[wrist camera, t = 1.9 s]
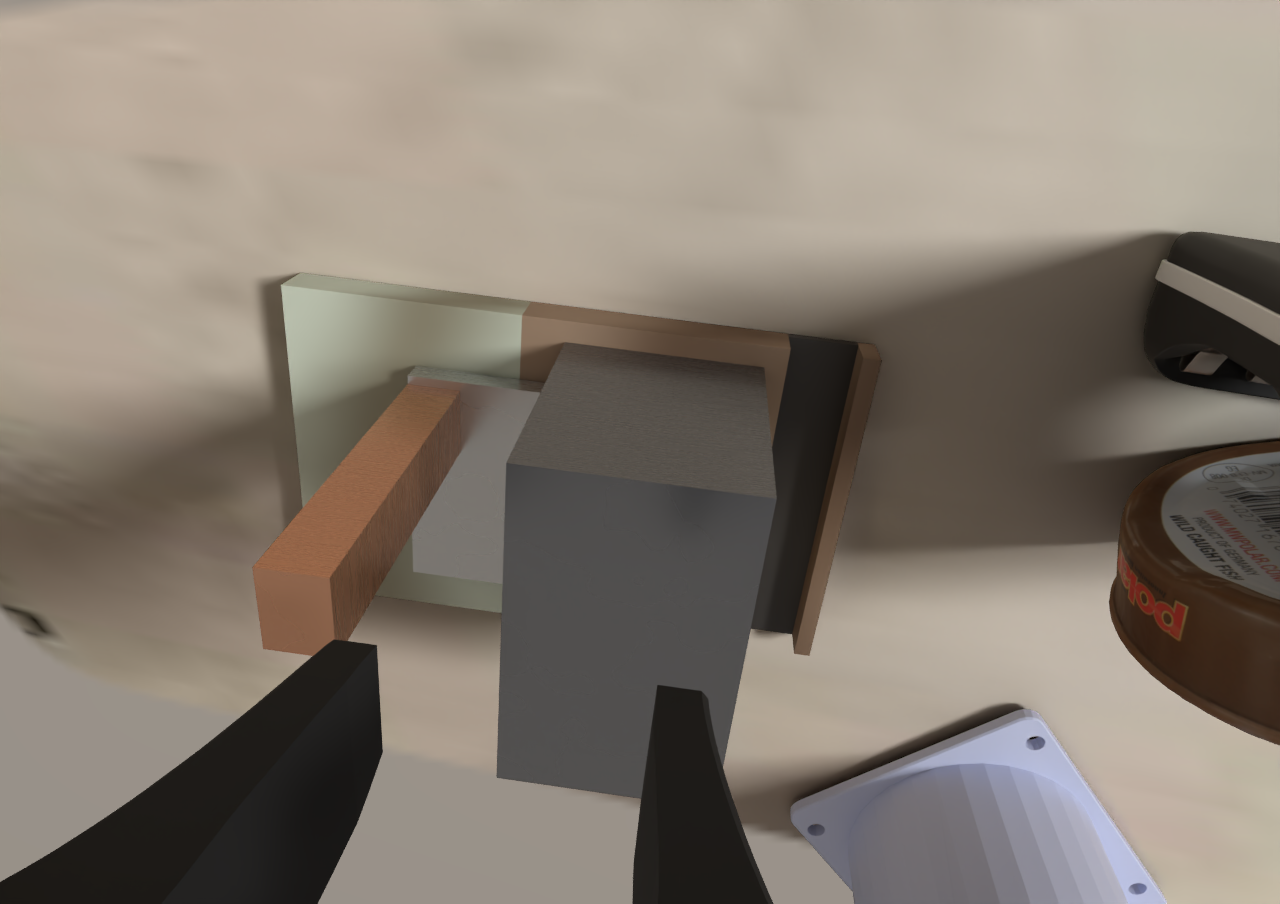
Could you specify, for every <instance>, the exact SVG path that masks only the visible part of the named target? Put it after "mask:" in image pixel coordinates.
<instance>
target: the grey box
mask: <svg viewBox="0 0 1280 904" xmlns="http://www.w3.org/2000/svg"><path fill="white" fill-rule="evenodd" d="M776 500H777V497H776V486H775V475H774V465H773V454H772V443H771V433H770V422H769V411H768V401H767V390H766V380H765V369H764V367H758V366H750V365H742V364H734V363H726V362H719V361H711V360H703V359H695V358H687V357H679V356H671V355H663V354H655V353H647V352H640V351H632V350H624V349H616V348H608V347H600V346H592V345H584V344H576V343H568V342H565V343H564V345H563V347H562V349H561V351H560V353H559V356H558V358H557V360H556V362H555V364H554V366H553V368H552V370H551V372H550V374H549V376H548V378H547V380H546V382H545V384H544V386H543V388H542V390H541V392H540V395H539V397H538V399H537V401H536V403H535V405H534V407H533V409H532V411H531V413H530V415H529V417H528V419H527V421H526V423H525V425H524V427H523V429H522V431H521V434H520V436H519V438H518V440H517V442H516V444H515V446H514V448H513V450H512V452H511V454H510V456H509V458H508V460H507V462H506V485H505V518H504V551H503V584H502V617H501V650H500V684H499V717H498V750H497V778H503V779H510V780H516V781H523V782H530V783H537V784H544V785H551V786H558V787H565V788H571V789H578V790H585V791H592V792H599V793H606V794H613V795H620V796H627V797H633V798H640V799H641V797H642V789H643V782H644V775H645V768H646V761H647V754H648V747H649V740H650V733H651V725H652V718H653V711H654V704H655V697H656V690H657V685H663V686H670V687H677V688H684V689H691V690H699V691H702V692H703V693H704V694H705V695H706V697H707V698H708V700H709V709H710V715H711V721H712V726H713V731H714V736H715V740H716V744H717V748H718V752H719V756H720V759H721V763H722V766H723V764H724V759H725V754H726V749H727V744H728V739H729V734H730V729H731V724H732V719H733V714H734V709H735V704H736V699H737V694H738V689H739V684H740V679H741V674H742V669H743V664H744V659H745V654H746V649H747V644H748V639H749V634H750V629H751V624H752V619H753V614H754V609H755V604H756V599H757V594H758V589H759V584H760V579H761V574H762V569H763V564H764V559H765V554H766V549H767V544H768V539H769V534H770V530H771V525H772V520H773V515H774V510H775V505H776Z"/></svg>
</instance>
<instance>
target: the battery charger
mask: <svg viewBox="0 0 1280 904" xmlns="http://www.w3.org/2000/svg"><path fill="white" fill-rule="evenodd" d="M1155 279H1157V280H1158V281H1159V282H1158V284H1157V287H1156V289H1155V292H1154V294H1153V297H1152V299H1151V302H1150V305H1149V307H1148V311H1147V319H1146V324H1145V329H1144V348H1145V352H1146V356H1147V358H1148V359H1149V361H1150V362H1151V364H1152V366H1153V367H1154V368H1155V369H1156V370H1157V371H1158V372H1159V373H1161V374H1162V375H1164V376H1165V377H1167V378H1169V379H1171V380H1173V381H1176V382H1180V383H1183V384H1187V385H1191V386H1196V387H1202V388H1208V389H1215V390H1221V391H1228V392H1234V393H1241V394H1247V395H1254V396H1260V397H1267V398H1273V399H1280V243H1275V242H1268V241H1262V240H1255V239H1248V238H1241V237H1234V236H1227V235H1221V234H1214V233H1207V232H1187V233H1185V234H1182V235H1181V236H1180V237H1179V238H1178V239H1177V240H1176V241H1175V243H1174V245H1173V247H1172V249H1171V251H1170V254H1169V256H1168V259H1164V260H1162V261H1161V264H1160V267H1159V269H1158V272H1157V274H1156V277H1155Z"/></svg>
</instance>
